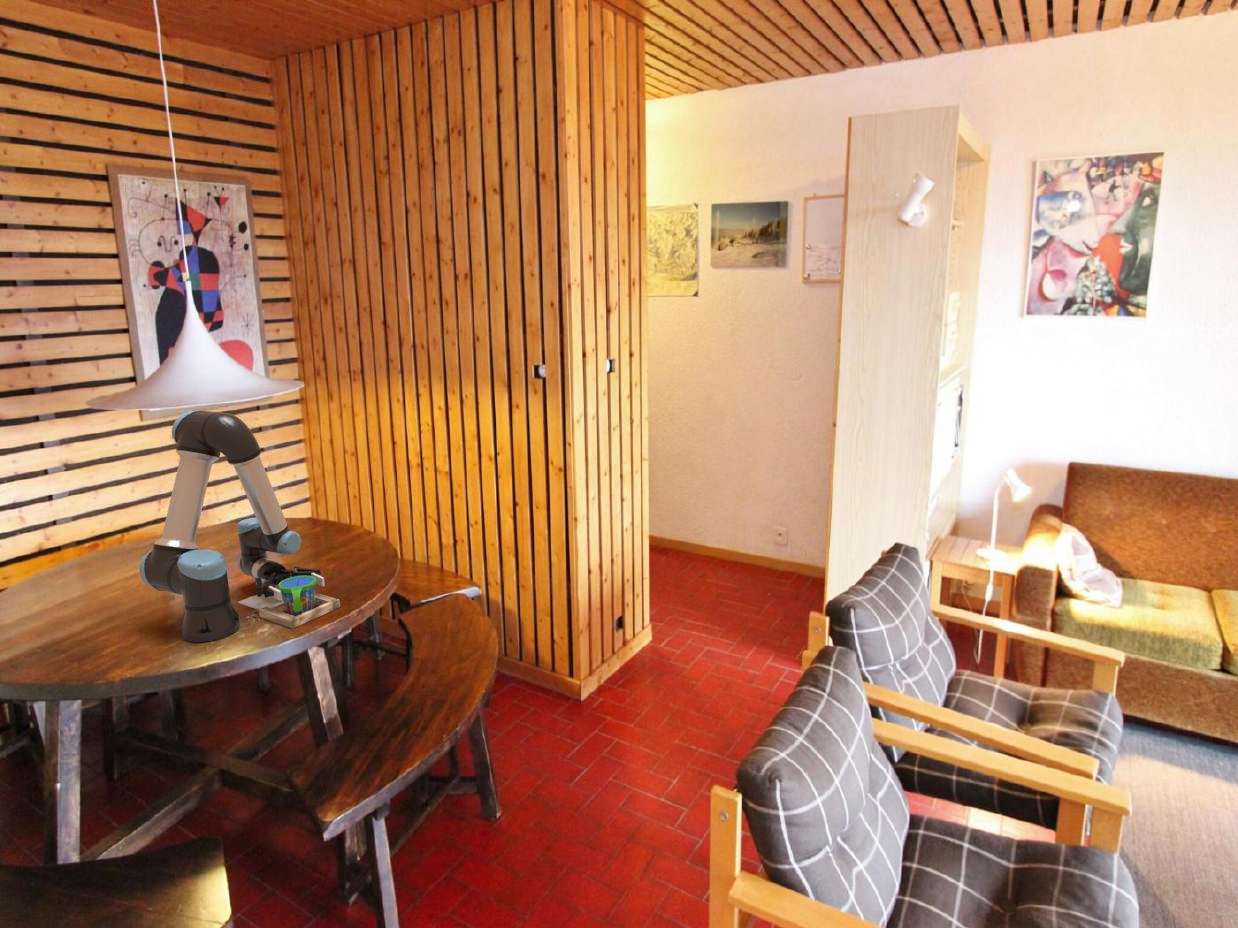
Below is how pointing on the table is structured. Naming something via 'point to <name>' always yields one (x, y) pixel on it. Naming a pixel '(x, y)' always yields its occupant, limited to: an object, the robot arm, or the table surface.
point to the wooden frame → (292, 621)
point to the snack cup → (298, 594)
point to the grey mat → (261, 602)
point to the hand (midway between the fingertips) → (302, 588)
